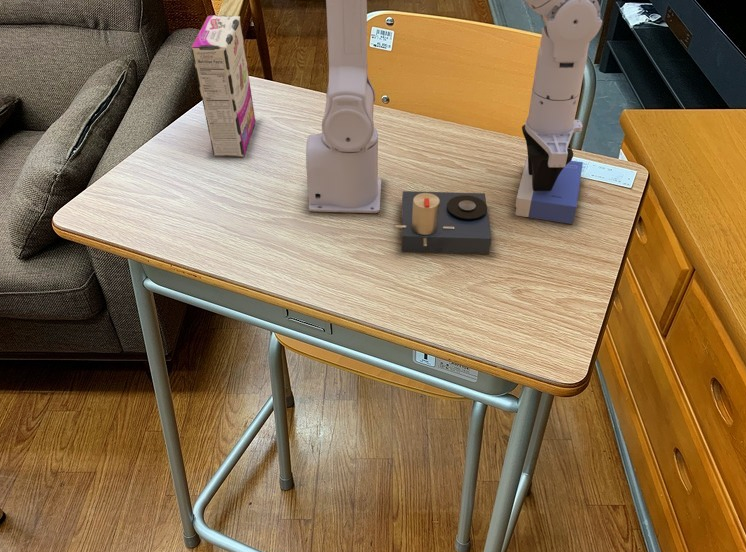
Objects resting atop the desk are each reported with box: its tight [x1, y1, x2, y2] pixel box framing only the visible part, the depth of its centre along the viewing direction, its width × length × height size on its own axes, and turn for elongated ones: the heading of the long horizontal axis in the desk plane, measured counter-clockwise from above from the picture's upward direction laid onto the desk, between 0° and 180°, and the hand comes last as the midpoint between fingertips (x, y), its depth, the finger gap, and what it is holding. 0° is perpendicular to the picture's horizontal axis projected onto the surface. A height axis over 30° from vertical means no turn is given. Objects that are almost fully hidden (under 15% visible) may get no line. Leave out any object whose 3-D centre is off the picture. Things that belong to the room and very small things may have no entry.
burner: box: [447, 195, 488, 221], centre depth 85 cm, size 5×5×1 cm
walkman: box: [514, 155, 584, 225], centre depth 91 cm, size 8×3×12 cm
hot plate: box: [394, 190, 492, 255], centre depth 85 cm, size 12×12×3 cm
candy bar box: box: [190, 14, 257, 158], centre depth 96 cm, size 11×5×16 cm, turn 179°
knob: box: [412, 193, 440, 235], centre depth 81 cm, size 3×3×4 cm
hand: (539, 186), depth 90 cm, fingers closed on walkman, 3 cm apart
